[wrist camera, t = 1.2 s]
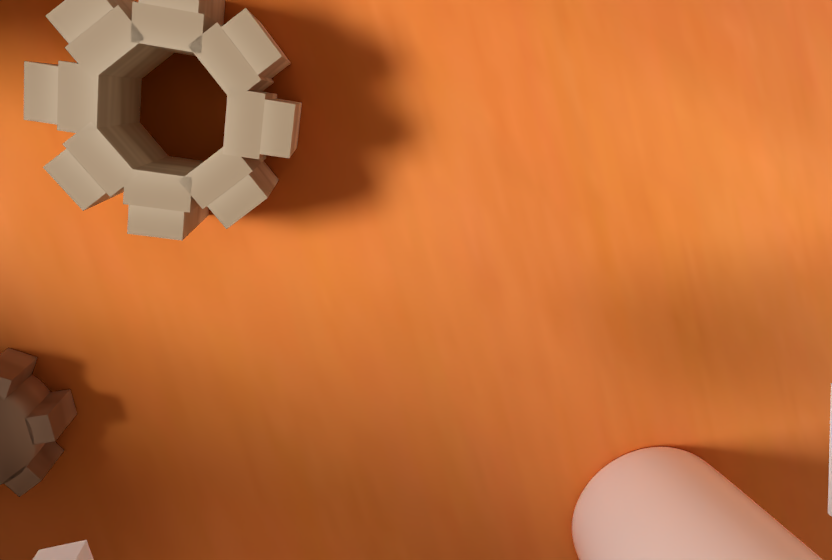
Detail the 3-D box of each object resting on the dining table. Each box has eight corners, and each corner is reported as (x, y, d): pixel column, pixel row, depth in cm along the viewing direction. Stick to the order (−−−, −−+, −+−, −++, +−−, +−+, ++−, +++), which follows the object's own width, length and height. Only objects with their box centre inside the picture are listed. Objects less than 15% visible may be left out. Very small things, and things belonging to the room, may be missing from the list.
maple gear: (78, 198, 27) (23, 220, 22) (85, -25, 25) (25, -54, 20) (288, 225, 28) (279, 252, 23) (311, 16, 26) (306, -2, 21)
